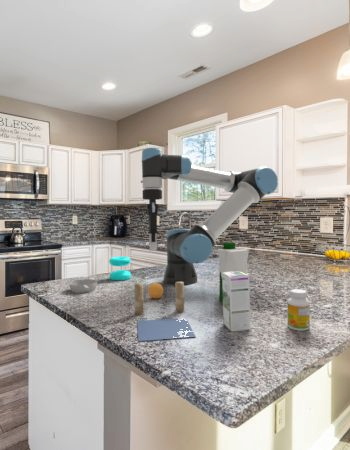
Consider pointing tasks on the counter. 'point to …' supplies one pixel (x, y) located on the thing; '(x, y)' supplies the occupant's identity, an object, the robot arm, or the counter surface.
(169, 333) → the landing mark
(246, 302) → the syrup box
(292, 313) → the supplement bottle
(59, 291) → the counter surface
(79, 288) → the saucepan
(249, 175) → the robot arm
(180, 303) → the right post
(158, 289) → the ball
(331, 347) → the counter surface
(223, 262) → the milk carton
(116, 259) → the donuts
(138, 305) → the left post
